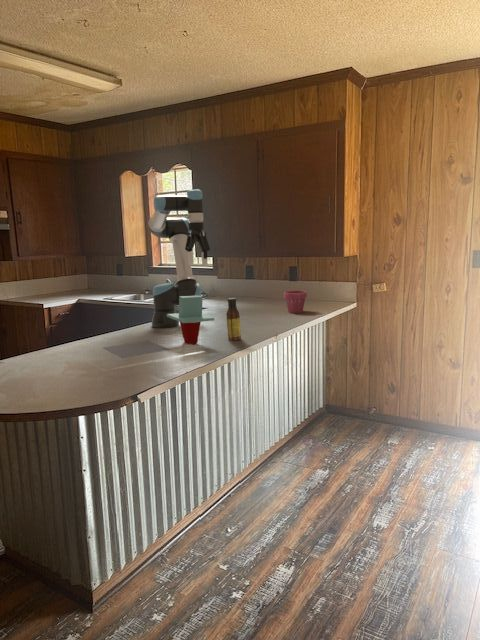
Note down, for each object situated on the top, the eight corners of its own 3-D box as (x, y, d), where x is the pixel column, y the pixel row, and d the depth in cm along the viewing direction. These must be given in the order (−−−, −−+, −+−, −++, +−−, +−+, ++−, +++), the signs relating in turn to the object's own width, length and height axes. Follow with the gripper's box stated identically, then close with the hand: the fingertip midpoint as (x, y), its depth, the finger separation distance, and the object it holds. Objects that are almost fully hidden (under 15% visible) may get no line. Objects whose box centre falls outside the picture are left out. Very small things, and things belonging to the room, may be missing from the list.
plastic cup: (199, 346, 221) (198, 320, 219) (176, 346, 223) (175, 320, 221) (205, 341, 232) (204, 316, 229) (184, 341, 234) (182, 316, 232)
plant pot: (282, 310, 314) (281, 290, 311) (303, 309, 315) (303, 289, 313) (286, 314, 300) (286, 293, 297) (309, 313, 301) (309, 292, 299)
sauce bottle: (242, 338, 236) (241, 297, 232) (238, 341, 230) (237, 299, 226) (230, 337, 238) (228, 297, 234) (225, 340, 232) (224, 299, 229)
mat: (102, 349, 221) (102, 347, 221) (147, 342, 234) (147, 340, 234) (123, 359, 202) (122, 357, 202) (170, 351, 215) (170, 349, 215)
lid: (166, 316, 227) (167, 294, 225) (196, 314, 236) (197, 293, 234) (183, 323, 214) (184, 300, 212) (214, 320, 224) (215, 298, 222)
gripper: (177, 222, 251) (179, 264, 255) (202, 221, 231) (204, 266, 235) (189, 222, 255) (191, 263, 259) (215, 221, 235) (217, 265, 239)
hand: (197, 264), depth 247 cm, fingers open, 13 cm apart
